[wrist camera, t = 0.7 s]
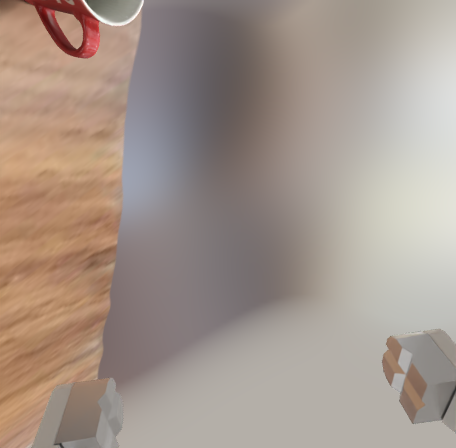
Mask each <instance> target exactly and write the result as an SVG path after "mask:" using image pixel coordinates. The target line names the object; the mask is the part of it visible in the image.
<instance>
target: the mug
mask: <svg viewBox="0 0 456 448" xmlns="http://www.w3.org/2000/svg"><path fill="white" fill-rule="evenodd" d="M24 1H26V2H28V3H30V4H32V5H34V6H35V8H36V10H37V12H38V14H39V16H40V18H41V21H42V22H43V24H44V26H45V28H46V29H47V31H48V33H49V34H50V36H51V38H52V39H53V40H54V42H55V43H56V44H57V46H58V47H59V48H60V49H61V50H63V51H64V52H65V53H67V54H69V55H71V56H74V57H78V58H90V57H92V56H93V55H95V53H96V52H97V50H98V47H99V42H100V34H99V21H100V22H102V23H104V24H106V25H109V26H123V25H126V24H128V23H130V22H131V21H132V20H133V19H134V18H135V17H136V16H137V15H138V13H139V12H140V10H141V7H142V5H143V2H144V0H24ZM55 11H60V12H64V13H68V14H73V15H74V16H75V17H76V19H77V20H79V21H80V23H81V25H82V28H83V42H82V45H81V47H79V48H78V49H75V48H74V47H73V46H72V45H71V44H70V42H69V41H68V40H67V38H66V36H65V35H64V33H63V32H62V30H61V28H60V27H59V25H58V23H57V21H56V18H55V14H54V13H55Z"/></svg>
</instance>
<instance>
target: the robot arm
mask: <svg viewBox="0 0 456 448" xmlns="http://www.w3.org/2000/svg"><path fill="white" fill-rule="evenodd" d="M386 345H387V347H388V349H389V350H387V351H386V352H385V353H384V355H383V360H382V364H383V371H384V373H385V376H386V379H387V380H388V382H389V384H390V386H391V387H392V388H394V389H395V390H397V391H398V392H400V400H399V401H400V403H401V405H402V406H403V408H404V410H405V412H406V413H407V415H408V417H409V419H410V420H411V422H412V423H413V424H416V423H424V422H431V421H439V420H442V422H443V423H444V424H445V425H447V426H448V427H449V428H450V429H451V430H453V431H454V432H455V433H456V344H455V343H454V342H453V341H452V340H451V338H450V337H449V336H448V335H447V334H446V333H445V332H444V331H443V330H441V329H434V330H429V331H418V332H412V333H406V334H400V335H394V336H390V337H389V338H388V339H387V342H386ZM115 388H116V384H115V381H114V379H113V378H106V379H99V380H91V381H83V382H75V383H68V384H61V385H57V386H56V387H55V388H54V390H53V391H52V393H51V396H50V399H49V402H48V404H47V407H46V410H45V412H44V415H43V418H42V421H41V423H40V426H39V429H38V432H37V434H36V437H35V440H34V442H33V445H32V448H119V445H118V442H117V440H116V438H115V437H116V436H117V434H118V433H119V432H120V430H121V429H122V424H123V402H122V398H121V395H120V394H119V393H117V392H115Z"/></svg>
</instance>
